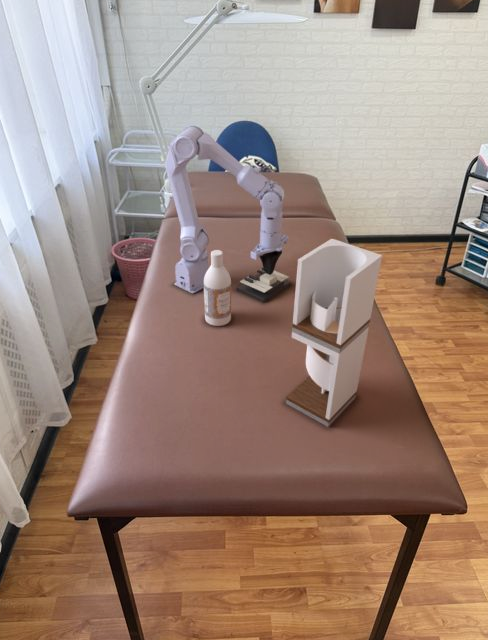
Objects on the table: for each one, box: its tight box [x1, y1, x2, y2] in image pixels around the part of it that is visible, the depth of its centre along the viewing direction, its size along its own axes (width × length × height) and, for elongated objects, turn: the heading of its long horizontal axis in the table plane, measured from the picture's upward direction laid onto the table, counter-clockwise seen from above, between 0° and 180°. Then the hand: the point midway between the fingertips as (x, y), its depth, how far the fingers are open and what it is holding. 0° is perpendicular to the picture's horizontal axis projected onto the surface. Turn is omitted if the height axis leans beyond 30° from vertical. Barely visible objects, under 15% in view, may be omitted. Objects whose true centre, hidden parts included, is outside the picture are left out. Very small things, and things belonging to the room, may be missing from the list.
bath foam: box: [203, 249, 232, 327], centre depth 130 cm, size 7×7×20 cm
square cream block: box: [260, 273, 277, 286], centre depth 147 cm, size 4×4×2 cm
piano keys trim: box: [239, 267, 290, 293], centre depth 147 cm, size 9×12×1 cm
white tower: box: [285, 238, 383, 428], centre depth 101 cm, size 11×11×35 cm
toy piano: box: [236, 273, 292, 304], centre depth 149 cm, size 10×13×3 cm
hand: (268, 273), depth 145 cm, fingers closed
